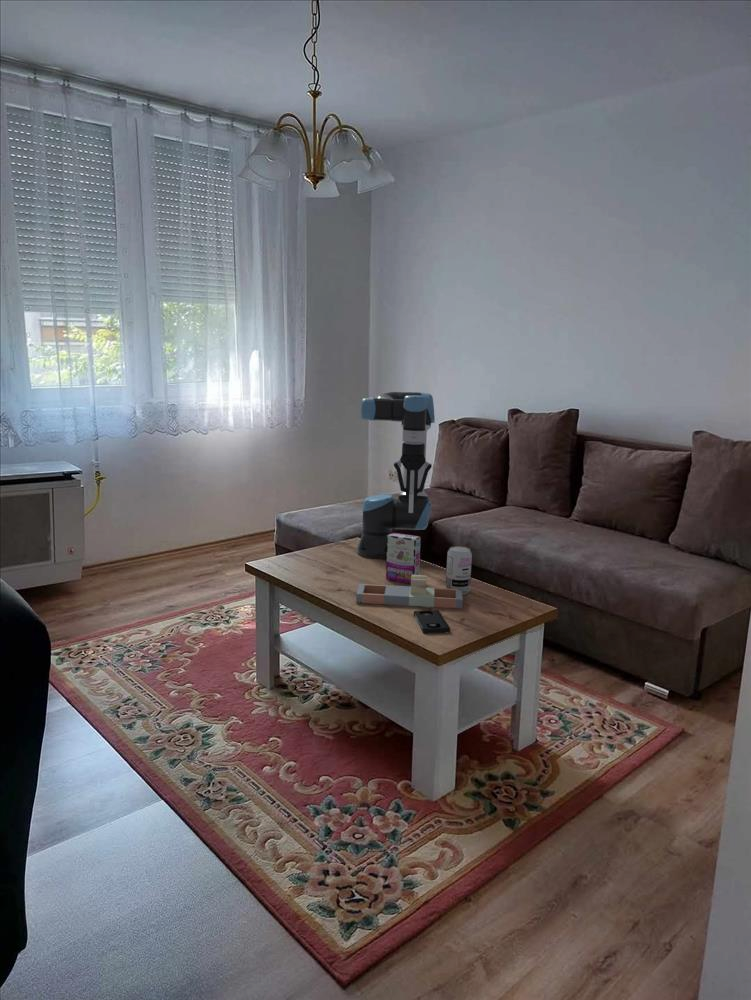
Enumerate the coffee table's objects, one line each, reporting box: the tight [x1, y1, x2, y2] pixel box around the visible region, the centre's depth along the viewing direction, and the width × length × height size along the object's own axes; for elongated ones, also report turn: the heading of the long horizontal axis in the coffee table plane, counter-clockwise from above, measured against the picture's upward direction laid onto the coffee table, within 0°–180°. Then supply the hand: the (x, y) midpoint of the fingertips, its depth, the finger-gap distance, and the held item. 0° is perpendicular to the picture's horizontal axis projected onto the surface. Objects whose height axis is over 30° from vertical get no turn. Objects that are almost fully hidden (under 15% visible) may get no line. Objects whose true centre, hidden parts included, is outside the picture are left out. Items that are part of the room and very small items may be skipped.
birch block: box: [410, 574, 428, 595], centre depth 233 cm, size 5×5×5 cm
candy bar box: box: [385, 532, 422, 585], centre depth 253 cm, size 11×5×16 cm, turn 62°
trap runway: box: [355, 583, 464, 610], centre depth 235 cm, size 10×34×3 cm, turn 85°
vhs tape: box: [413, 609, 451, 634], centre depth 215 cm, size 14×8×2 cm, turn 9°
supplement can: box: [445, 545, 473, 596], centre depth 243 cm, size 8×8×15 cm
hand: (410, 511), depth 243 cm, fingers closed
